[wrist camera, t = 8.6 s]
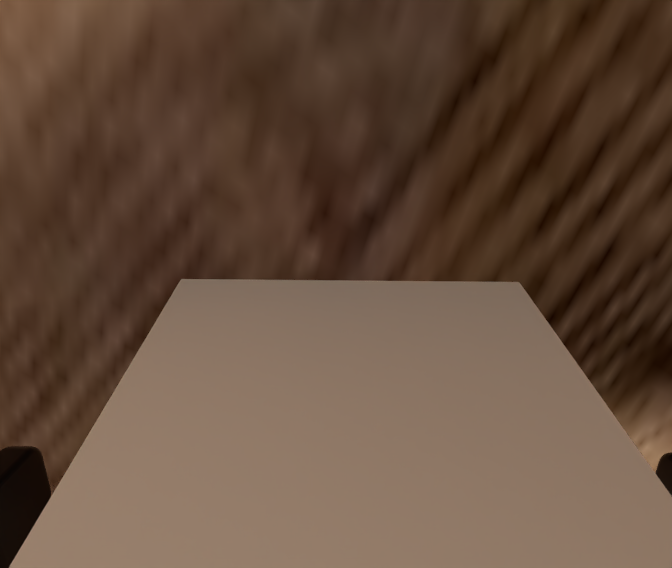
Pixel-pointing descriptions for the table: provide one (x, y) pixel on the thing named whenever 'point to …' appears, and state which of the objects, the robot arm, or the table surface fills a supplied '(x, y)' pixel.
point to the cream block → (354, 440)
